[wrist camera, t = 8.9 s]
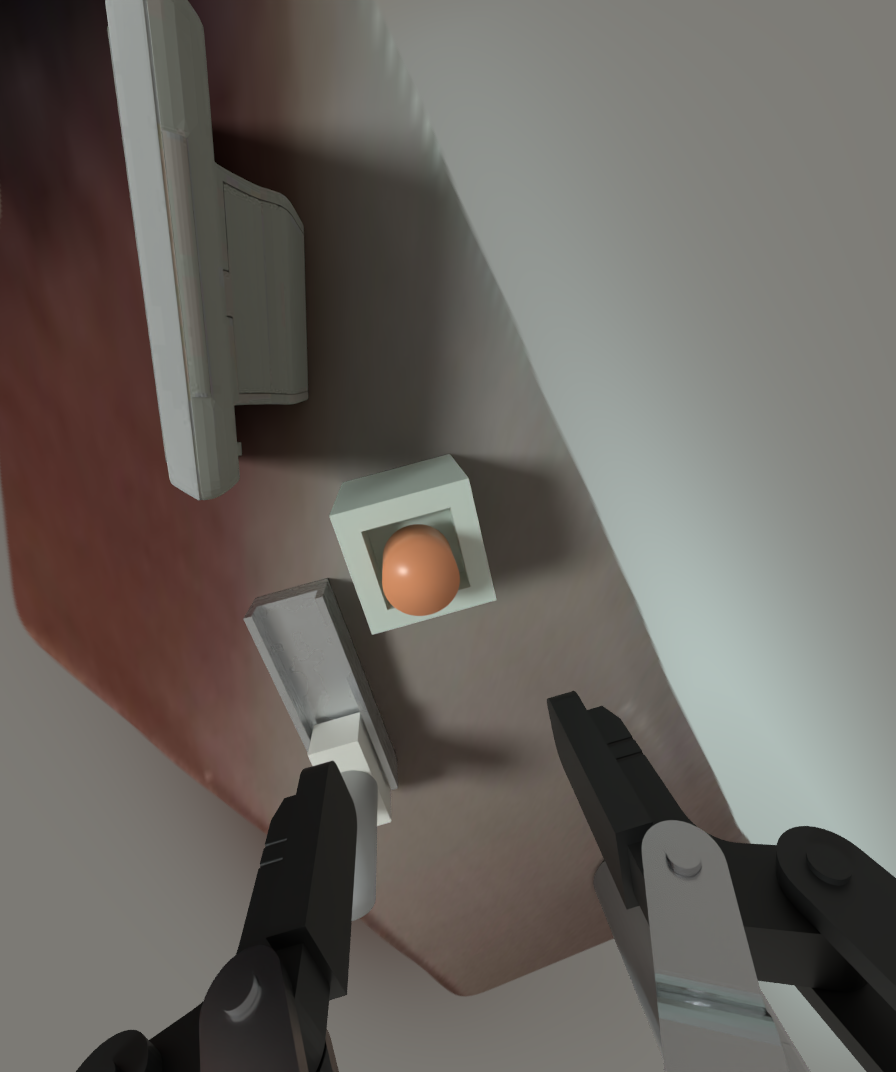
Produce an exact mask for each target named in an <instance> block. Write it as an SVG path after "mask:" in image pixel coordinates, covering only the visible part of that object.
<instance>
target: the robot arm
mask: <svg viewBox="0 0 896 1072" xmlns="http://www.w3.org/2000/svg"><path fill="white" fill-rule="evenodd" d="M547 705H548V710H549V715H550V720H551V725H552V730H553V735H554V740H555V744H556V748H557V751H558V754H559V757H560V760H561V763H562V765H563V768H564V770H565V772H566V775H567V777H568V779H569V781H570V784H571V786H572V788H573V790H574V793H575V795H576V797H577V799H578V801H579V804H580V806H581V808H582V810H583V813H584V815H585V817H586V819H587V822H588V824H589V826H590V828H591V831H592V833H593V835H594V837H595V840H596V842H597V844H598V846H599V849H600V851H601V853H602V855H603V858H604V860H605V861H604V862H603V863H602V864H601V865H600V867H599V868H598V870H597V872H596V874H595V877H594V889H595V892H596V894H597V897H598V899H599V901H600V904H601V906H602V909H603V911H604V914H605V916H606V919H607V921H608V924H609V926H610V929H611V931H612V934H613V937H614V939H615V942H616V944H617V947H618V949H619V952H620V954H621V956H622V959H623V962H624V964H625V966H626V969H627V971H628V974H629V976H630V979H631V981H632V984H633V986H634V989H635V991H636V994H637V996H638V999H639V1001H640V1003H641V1006H642V1008H643V1011H644V1014H645V1016H646V1019H647V1021H648V1024H649V1026H650V1029H651V1031H652V1034H653V1036H654V1038H655V1041H656V1043H657V1046H658V1048H659V1051H660V1053H661V1056H662V1058H663V1061H664V1070H665V1072H810V1070H809V1068H808V1067H807V1065H806V1063H805V1062H804V1060H803V1058H802V1057H801V1055H800V1053H799V1052H798V1050H797V1049H796V1047H795V1046H794V1044H793V1042H792V1041H791V1039H790V1037H789V1036H788V1034H787V1032H786V1031H785V1029H784V1027H783V1026H782V1024H781V1022H780V1021H779V1019H778V1017H777V1016H776V1014H775V1013H774V1011H773V1009H772V1007H771V1006H770V1004H769V1002H768V1001H767V999H766V998H765V996H764V994H763V993H762V991H761V989H760V987H759V984H758V981H766V982H774V983H781V984H788V985H795V986H796V988H797V989H798V990H799V991H800V992H801V993H802V995H803V996H804V997H805V998H806V1000H807V1001H808V1002H809V1003H810V1004H811V1006H812V1007H813V1008H814V1009H815V1010H816V1011H817V1013H818V1014H819V1015H820V1016H821V1018H822V1019H823V1020H824V1021H825V1022H826V1024H827V1025H828V1026H829V1027H830V1028H831V1030H832V1031H833V1032H834V1033H835V1034H836V1036H837V1037H838V1038H839V1039H840V1040H841V1041H842V1043H843V1044H844V1045H845V1046H846V1048H848V1050H849V1051H850V1052H851V1053H852V1055H853V1056H854V1057H855V1058H856V1060H857V1061H858V1062H859V1063H860V1064H861V1066H862V1067H863V1068H864V1069H865V1070H866V1071H867V1072H896V878H895V877H894V876H892V875H891V874H890V873H889V872H888V871H886V870H885V869H884V868H883V867H881V866H880V865H879V864H878V863H876V862H875V861H874V860H873V859H872V858H870V857H869V856H868V855H867V854H865V853H864V852H863V851H862V850H861V849H859V848H858V847H857V846H855V845H854V844H853V843H851V842H850V841H848V840H846V839H845V838H843V837H841V836H839V835H837V834H835V833H833V832H830V831H827V830H825V829H821V828H816V827H809V826H799V827H794V828H792V829H789V830H787V831H786V832H784V833H783V834H782V835H781V836H780V838H779V840H778V843H777V845H763V844H745V843H734V842H729V841H725V840H721V839H719V838H716V837H714V836H712V835H710V834H708V833H706V832H704V831H703V830H701V829H700V828H698V827H697V826H696V825H695V824H693V823H692V822H691V821H690V820H689V819H688V818H687V816H686V815H685V814H684V813H683V811H682V810H681V808H680V807H679V805H678V804H677V802H676V801H675V799H674V798H673V796H672V795H671V793H670V792H669V790H668V789H667V788H666V786H665V785H664V783H663V782H662V780H661V779H660V777H659V776H658V774H657V773H656V771H655V770H654V768H653V767H652V765H651V764H650V762H649V761H648V759H647V758H646V756H645V755H643V753H642V750H641V749H640V747H639V746H638V744H637V743H636V741H635V740H633V738H632V735H631V734H630V732H629V731H628V729H627V728H626V726H625V725H624V724H623V722H622V721H621V719H620V718H619V717H617V716H616V715H614V714H613V713H612V712H610V711H609V710H607V709H606V708H604V707H603V706H600V707H597V708H593V709H590V710H586V708H585V706H584V705H583V703H582V701H581V699H580V698H579V696H578V694H577V693H576V692H575V691H572V692H568V693H565V694H562V695H558V696H555V697H551V698H548V699H547ZM356 843H357V815H356V809H355V805H354V802H353V799H352V797H351V795H350V793H349V790H348V788H347V786H346V784H345V782H344V780H343V777H342V775H341V773H340V771H339V769H338V766H337V764H336V763H335V762H334V761H329V762H326V763H322V764H319V765H315V766H312V767H308V768H305V769H303V770H302V772H301V774H300V779H299V783H298V788H297V793H296V795H294V796H290V797H287V798H284V800H283V802H282V803H281V805H280V807H279V808H278V810H277V812H276V813H275V815H274V817H273V818H272V820H271V823H270V827H269V830H268V834H267V839H266V842H265V846H266V847H265V848H264V851H263V854H262V858H261V862H260V868H259V869H258V874H257V878H256V881H255V886H254V889H253V893H252V897H251V901H250V905H249V908H248V912H247V917H246V920H245V924H244V928H243V932H242V936H241V940H240V943H239V947H238V950H237V953H236V955H235V956H234V957H233V958H232V959H230V960H229V961H228V962H227V964H225V966H224V967H223V968H222V969H221V970H220V972H219V973H218V974H217V976H216V977H215V979H214V980H213V982H212V984H211V985H210V987H209V989H208V992H207V994H206V996H205V998H204V1001H203V1002H202V1003H201V1004H200V1005H198V1006H197V1007H196V1008H194V1009H193V1010H192V1011H190V1012H189V1013H187V1014H186V1015H185V1016H183V1017H182V1018H180V1019H179V1020H177V1021H176V1022H175V1023H173V1024H172V1025H170V1026H169V1027H167V1028H166V1029H164V1030H163V1031H162V1032H160V1033H159V1034H157V1035H156V1036H154V1037H153V1038H152V1039H150V1040H148V1039H147V1038H146V1037H145V1036H144V1035H143V1034H142V1033H141V1032H139V1031H137V1030H127V1031H123V1032H120V1033H118V1034H116V1035H114V1036H112V1037H111V1038H109V1039H108V1040H106V1041H105V1042H104V1043H102V1044H101V1045H100V1046H99V1047H98V1048H97V1049H95V1050H94V1051H93V1052H92V1053H91V1055H90V1056H89V1057H88V1058H87V1059H86V1060H85V1061H84V1062H83V1063H82V1065H81V1066H80V1067H79V1068H78V1070H77V1071H76V1072H339V1071H338V1067H337V1063H336V1058H335V1055H334V1050H333V1046H332V1042H331V1038H330V1035H329V1032H328V1030H327V1029H326V1028H327V1016H328V1005H329V1000H332V999H335V998H338V997H342V996H345V995H347V983H348V968H349V952H350V937H351V921H352V906H353V890H354V874H355V858H356Z"/></svg>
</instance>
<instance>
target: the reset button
mask: <svg viewBox="0 0 896 1072" xmlns="http://www.w3.org/2000/svg"><path fill="white" fill-rule="evenodd" d="M459 585H460V574H459V570H458V567H457V564H456V561H455V559H454V556H453V553H452V550H451V548H450V545H449V543H448V541H447V539H446V538H445V536H444V535H443V534H442V533H441V532H440V531H438V530H437V529H435V528H433V527H431V526H427V525H422V524H414V525H408V526H405V527H403V528H401V529H399V530H397V531H396V532H395V533H394V534H392V536H391V537H390V538H389V539H388V541H387V542H386V544H385V547H384V550H383V568H382V586H383V591H384V594H385V596H386V598H387V600H388V601H389V602H390V604H391V605H392V606H393V607H395V608H396V609H397V610H399V611H401V612H403V613H405V614H409V615H414V616H426V615H431V614H434V613H436V612H438V611H440V610H442V609H444V608H445V607H446V606H448V605H449V604H450V603H451V602H452V600H453V599H454V597H455V596H456V594H457V592H458V589H459Z"/></svg>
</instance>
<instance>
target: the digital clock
mask: <svg viewBox="0 0 896 1072" xmlns="http://www.w3.org/2000/svg"><path fill="white" fill-rule="evenodd" d="M105 2H106V10H107V18H108V25H109V27H107V28H108V36H109V43H110V50H111V58H112V65H113V73H114V80H115V87H116V95H117V102H118V110H119V117H120V124H121V132H122V139H123V147H124V154H125V161H126V169H127V176H128V184H129V191H130V198H131V206H132V213H133V220H134V228H135V235H136V243H137V250H138V257H139V265H140V272H141V280H142V287H143V294H144V302H145V309H146V317H147V324H148V331H149V339H150V346H151V354H152V361H153V368H154V376H155V383H156V391H157V398H158V405H159V413H160V420H161V428H162V435H163V442H164V450H165V457H166V462H167V464H168V471H169V477H170V481H171V483H172V484H173V485H174V486H176V487H177V488H179V489H181V490H182V491H184V492H185V493H187V494H189V495H190V496H192V497H194V498H196V499H197V500H208V499H213V498H216V497H218V496H221V495H222V494H224V493H225V492H227V491H228V490H230V489H231V488H232V487H233V486H234V485H235V484H236V483H237V482H238V480H239V462H238V456H239V455H242V447H241V442H237V436H236V424H235V411H234V406H235V405H255V404H283V405H289V404H296V403H299V402H302V401H305V400H307V399H308V369H307V331H306V294H305V256H304V225H303V223H302V222H301V220H300V218H299V216H298V214H297V213H296V211H295V209H294V207H293V206H292V204H291V202H290V201H289V200H288V199H287V198H286V197H285V196H284V195H282V194H281V193H279V192H276V191H273V190H270V189H267V188H263V187H260V186H258V185H255V184H253V183H251V182H249V181H247V180H245V179H243V178H241V177H239V176H237V175H235V174H233V173H232V172H230V171H228V170H226V169H225V168H223V167H221V166H220V165H218V164H217V163H216V162H215V161H214V150H213V138H212V126H211V113H210V101H209V89H208V76H207V64H206V52H205V41H204V30H203V25H202V23H201V21H200V19H199V17H198V15H197V14H196V12H195V11H194V9H193V8H192V6H191V5H190V3H189V2H188V0H105ZM193 211H194V213H193ZM194 221H195V224H194ZM195 232H196V234H195ZM196 242H197V244H196ZM197 252H198V255H197ZM198 263H199V265H198ZM199 273H200V276H199ZM200 283H201V286H200ZM201 294H202V296H201ZM202 304H203V307H202ZM203 315H204V317H203ZM204 325H205V327H204ZM205 335H206V338H205ZM206 346H207V348H206ZM207 356H208V359H207ZM208 367H209V369H208ZM209 377H210V379H209ZM210 387H211V390H210Z"/></svg>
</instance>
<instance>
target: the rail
mask: <svg viewBox="0 0 896 1072" xmlns="http://www.w3.org/2000/svg"><path fill="white" fill-rule="evenodd" d="M243 619H244V621H245V623H246V625H247V627H248V629H249V631H250V634H251V636H252V638H253V640H254V642H255V644H256V646H257V648H258V650H259V652H260V654H261V656H262V659H263V661H264V663H265V665H266V667H267V669H268V671H269V673H270V675H271V677H272V679H273V681H274V684H275V686H276V688H277V690H278V692H279V694H280V696H281V698H282V700H283V702H284V704H285V706H286V708H287V711H288V713H289V715H290V717H291V719H292V721H293V723H294V725H295V727H296V729H297V731H298V733H299V736H300V738H301V740H302V742H303V744H304V746H305V748H306V750H307V752H308V751H309V746H310V741H311V737H312V732H313V727H314V725H316V724H320V723H323V722H327V721H330V720H334V719H337V718H341V717H344V716H348V715H351V714H355V713H358V712H360V713H361V716H362V718H363V721H364V723H365V726H366V728H367V731H368V733H369V736H370V738H371V741H372V743H373V746H374V748H375V751H376V753H377V756H378V758H379V760H380V763H381V765H382V768H383V770H384V773H385V775H386V778H387V780H388V782H389V785H390V787H391V790H393V789H397V788H398V770H397V757H396V755H395V752H394V750H393V747H392V744H391V742H390V739H389V737H388V734H387V731H386V729H385V726H384V723H383V721H382V718H381V716H380V713H379V710H378V708H377V705H376V703H375V700H374V697H373V695H372V692H371V690H370V687H369V684H368V682H367V679H366V676H365V674H364V671H363V669H362V666H361V663H360V661H359V658H358V656H357V653H356V650H355V648H354V645H353V643H352V640H351V637H350V635H349V632H348V629H347V627H346V624H345V622H344V619H343V616H342V614H341V611H340V609H339V606H338V603H337V601H336V598H335V596H334V593H333V590H332V588H331V585H330V582H329V580H328V578H326V579H323V580H319V581H315V582H312V583H308V584H304V585H301V586H297V587H293V588H290V589H286V590H283V591H279V592H275V593H272V594H268V595H264V596H261V597H257V598H255V599H254V601H253V603H252V605H251V606H250V608H249V610H248V612H247V613H246V615H245V617H244V618H243Z"/></svg>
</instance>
